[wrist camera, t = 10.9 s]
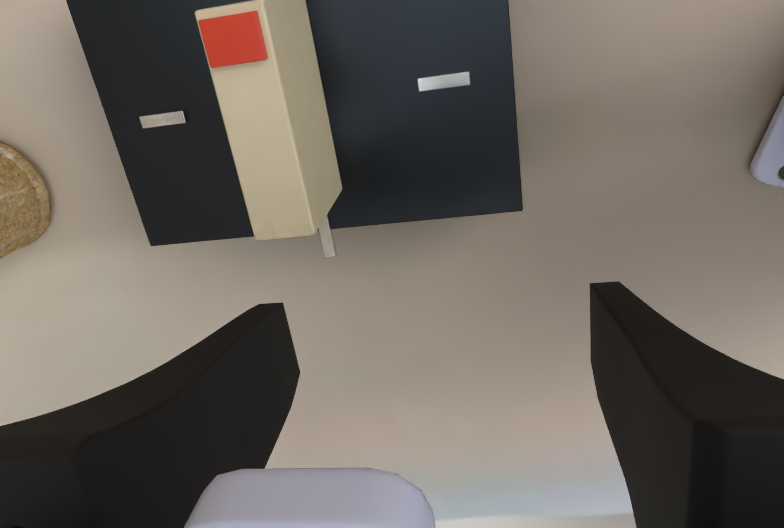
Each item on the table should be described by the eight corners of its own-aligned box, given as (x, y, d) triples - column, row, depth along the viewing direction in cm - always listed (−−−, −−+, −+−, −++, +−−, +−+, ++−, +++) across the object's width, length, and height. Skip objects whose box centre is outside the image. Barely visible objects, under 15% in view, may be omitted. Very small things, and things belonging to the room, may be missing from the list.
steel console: (496, -124, 18) (498, -143, 14) (518, 197, 22) (525, 240, 18) (115, -51, 20) (43, -53, 17) (200, 229, 24) (155, 272, 21)
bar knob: (343, 189, 19) (312, 239, 15) (292, 195, 19) (251, 246, 16) (304, -9, 16) (258, -1, 13) (247, 1, 17) (188, 11, 13)
